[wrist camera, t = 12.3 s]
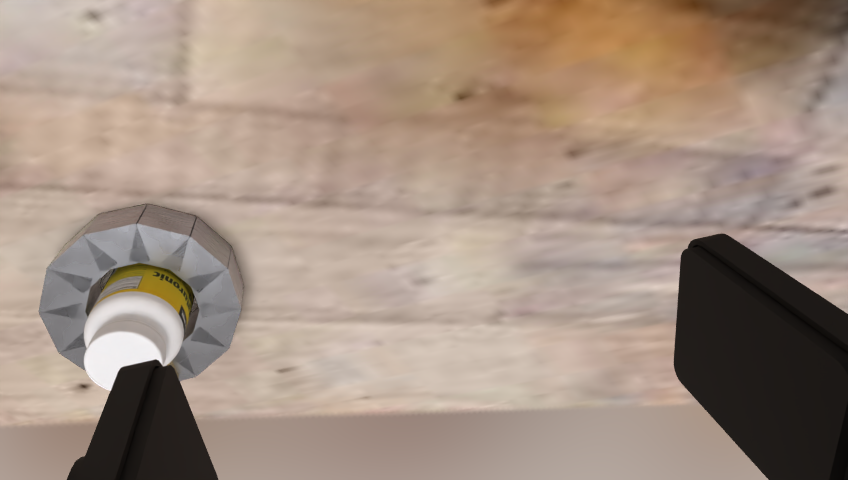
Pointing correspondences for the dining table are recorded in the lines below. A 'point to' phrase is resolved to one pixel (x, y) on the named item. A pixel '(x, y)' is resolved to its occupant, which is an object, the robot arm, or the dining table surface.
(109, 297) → the supplement bottle
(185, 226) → the grey faceted ring
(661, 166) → the dining table surface
